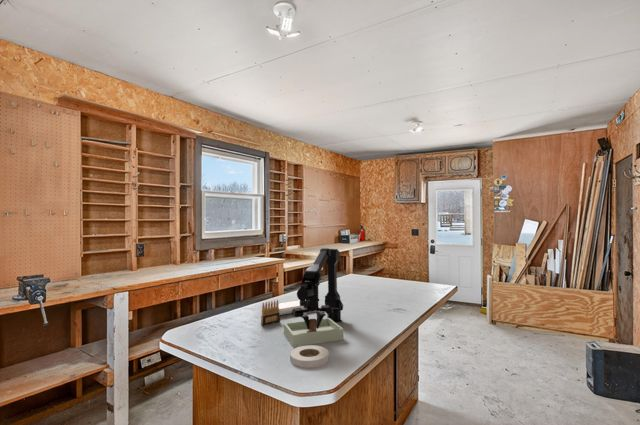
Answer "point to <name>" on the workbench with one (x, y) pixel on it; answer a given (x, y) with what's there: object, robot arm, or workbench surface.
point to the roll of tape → (314, 361)
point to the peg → (312, 325)
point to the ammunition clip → (270, 313)
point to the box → (302, 336)
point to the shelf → (288, 307)
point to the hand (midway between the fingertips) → (312, 329)
